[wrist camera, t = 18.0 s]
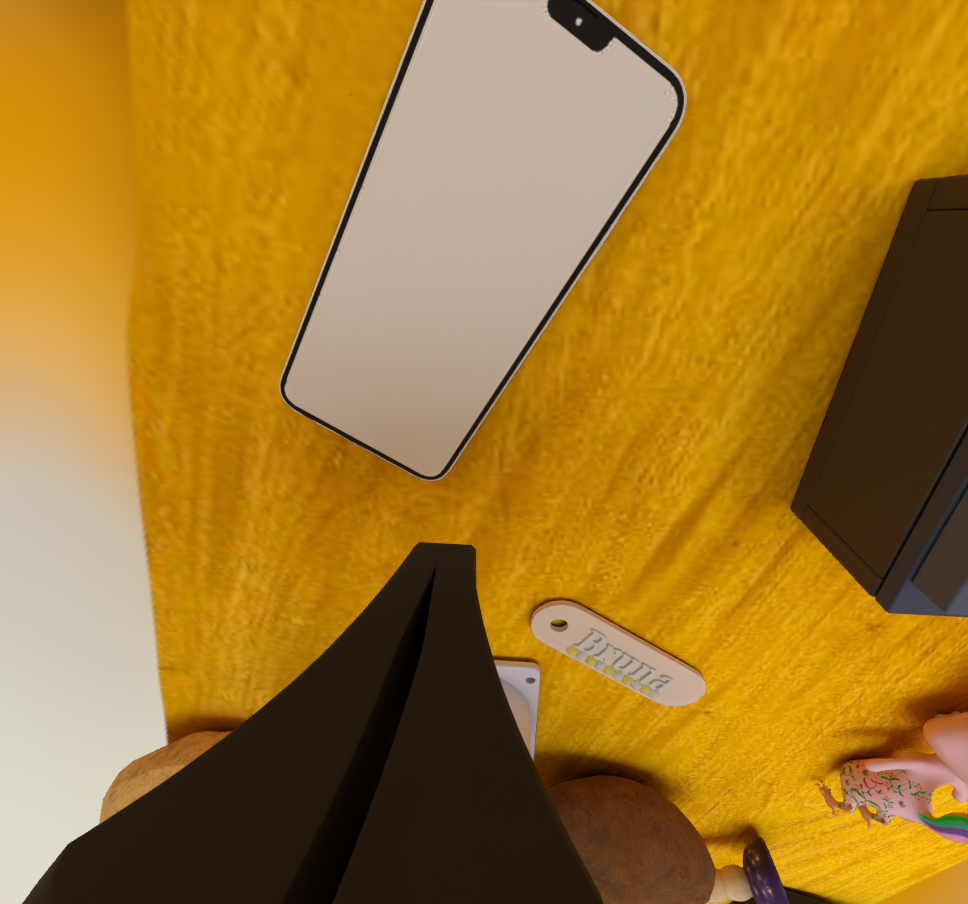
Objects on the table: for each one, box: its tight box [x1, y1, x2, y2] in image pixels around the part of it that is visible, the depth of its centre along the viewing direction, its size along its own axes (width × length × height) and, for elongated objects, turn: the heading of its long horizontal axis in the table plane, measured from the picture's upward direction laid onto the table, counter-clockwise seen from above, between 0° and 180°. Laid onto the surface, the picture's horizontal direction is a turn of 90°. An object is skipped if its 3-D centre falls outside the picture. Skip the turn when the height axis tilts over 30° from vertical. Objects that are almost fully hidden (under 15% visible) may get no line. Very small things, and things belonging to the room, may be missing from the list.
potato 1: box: [99, 731, 232, 824], centre depth 27 cm, size 7×11×6 cm, turn 108°
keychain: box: [531, 600, 706, 707], centre depth 22 cm, size 10×1×3 cm
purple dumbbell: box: [708, 837, 790, 904], centre depth 30 cm, size 5×5×17 cm
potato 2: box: [546, 775, 716, 904], centre depth 26 cm, size 7×12×7 cm
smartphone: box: [279, 0, 687, 481], centre depth 15 cm, size 7×1×15 cm
